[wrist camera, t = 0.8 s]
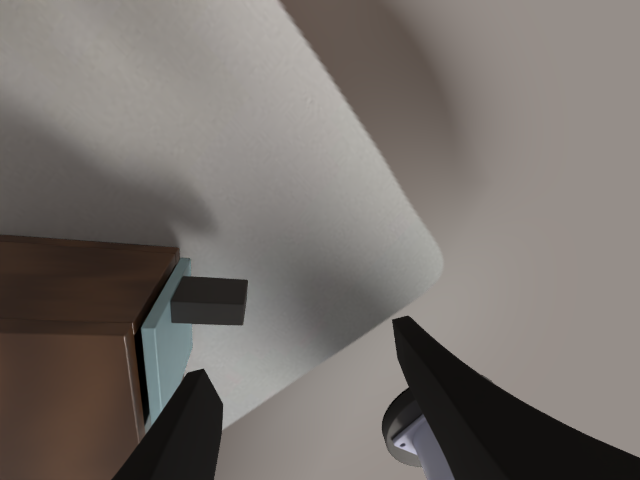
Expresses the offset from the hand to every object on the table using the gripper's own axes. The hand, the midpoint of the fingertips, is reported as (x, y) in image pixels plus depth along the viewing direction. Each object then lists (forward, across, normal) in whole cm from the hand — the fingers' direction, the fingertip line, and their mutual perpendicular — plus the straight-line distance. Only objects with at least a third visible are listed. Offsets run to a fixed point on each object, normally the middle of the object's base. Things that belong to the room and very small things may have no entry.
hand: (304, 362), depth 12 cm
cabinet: (+10, +14, +3) cm, 18 cm away
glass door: (+9, +6, +3) cm, 11 cm away
